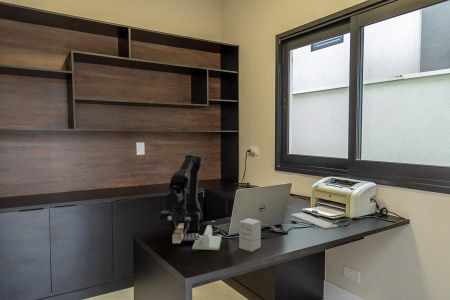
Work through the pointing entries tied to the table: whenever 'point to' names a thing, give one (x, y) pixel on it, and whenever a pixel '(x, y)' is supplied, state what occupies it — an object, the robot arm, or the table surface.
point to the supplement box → (250, 234)
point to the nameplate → (277, 230)
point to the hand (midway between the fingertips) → (179, 233)
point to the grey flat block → (314, 221)
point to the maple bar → (178, 233)
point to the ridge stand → (207, 241)
